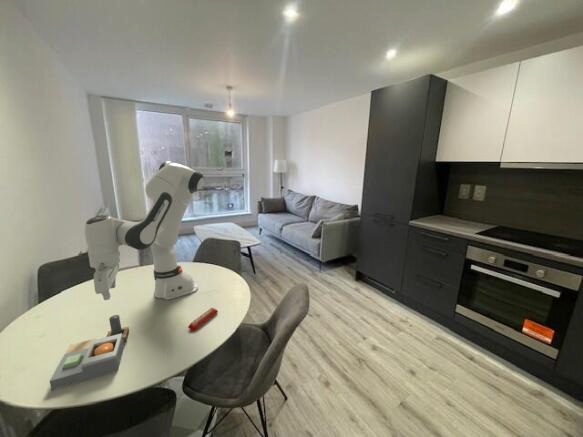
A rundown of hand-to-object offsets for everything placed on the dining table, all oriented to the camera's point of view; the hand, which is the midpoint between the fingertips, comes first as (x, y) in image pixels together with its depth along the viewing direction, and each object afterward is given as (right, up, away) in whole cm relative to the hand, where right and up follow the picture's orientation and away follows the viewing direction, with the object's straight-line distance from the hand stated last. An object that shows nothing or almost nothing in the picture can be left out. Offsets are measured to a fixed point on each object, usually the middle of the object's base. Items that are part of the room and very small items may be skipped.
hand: (110, 293), depth 90 cm
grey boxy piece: (0, -23, -9) cm, 25 cm away
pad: (-10, -21, -2) cm, 24 cm away
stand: (0, -20, +4) cm, 21 cm away
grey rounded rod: (0, -20, +4) cm, 21 cm away
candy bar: (+30, -19, +17) cm, 39 cm away
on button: (-4, -21, -11) cm, 24 cm away
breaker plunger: (+4, -20, -7) cm, 22 cm away
